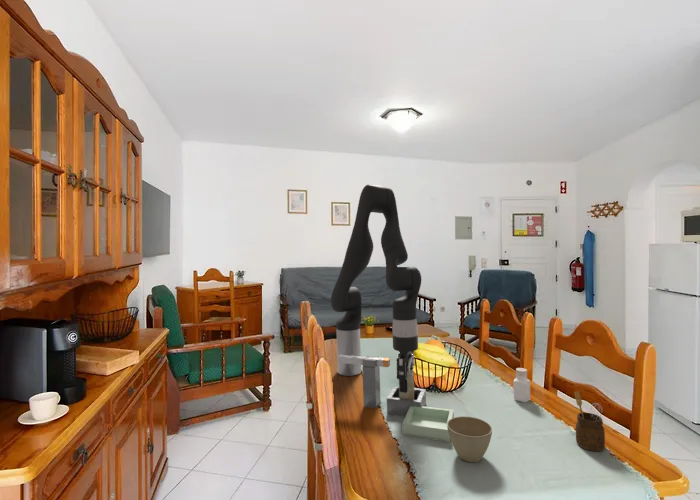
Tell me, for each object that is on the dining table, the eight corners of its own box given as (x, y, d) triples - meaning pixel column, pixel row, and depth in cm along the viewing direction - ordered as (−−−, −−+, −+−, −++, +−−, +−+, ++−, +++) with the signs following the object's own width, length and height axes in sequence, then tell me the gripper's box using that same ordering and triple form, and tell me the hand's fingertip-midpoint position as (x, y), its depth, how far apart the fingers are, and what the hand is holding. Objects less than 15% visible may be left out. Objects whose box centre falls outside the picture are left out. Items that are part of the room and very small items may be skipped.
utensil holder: (594, 454, 87) (593, 403, 87) (569, 442, 93) (568, 393, 93) (610, 448, 90) (610, 398, 90) (585, 436, 96) (584, 389, 95)
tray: (411, 415, 110) (410, 404, 110) (453, 420, 106) (453, 409, 106) (402, 435, 99) (402, 423, 99) (449, 442, 95) (449, 430, 95)
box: (414, 412, 112) (413, 375, 111) (399, 412, 113) (398, 374, 112) (414, 405, 117) (413, 369, 117) (400, 404, 118) (399, 369, 117)
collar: (394, 400, 121) (394, 386, 121) (426, 403, 118) (425, 389, 118) (387, 413, 112) (386, 398, 112) (420, 417, 108) (420, 402, 108)
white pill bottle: (530, 399, 119) (530, 369, 118) (526, 403, 116) (525, 372, 115) (517, 396, 121) (517, 366, 121) (513, 400, 118) (512, 369, 118)
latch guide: (368, 400, 121) (367, 355, 121) (380, 401, 120) (379, 356, 120) (363, 406, 117) (362, 359, 116) (376, 408, 115) (374, 361, 115)
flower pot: (487, 473, 82) (486, 440, 81) (442, 461, 87) (441, 430, 87) (496, 451, 90) (496, 421, 90) (454, 441, 95) (454, 412, 95)
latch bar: (340, 360, 123) (340, 354, 123) (390, 364, 117) (389, 358, 117) (337, 363, 121) (337, 356, 121) (388, 367, 115) (387, 360, 115)
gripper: (413, 339, 106) (414, 397, 107) (421, 328, 120) (422, 379, 120) (387, 338, 109) (388, 394, 109) (398, 327, 122) (399, 377, 123)
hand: (406, 386), depth 115 cm, fingers open, 8 cm apart
